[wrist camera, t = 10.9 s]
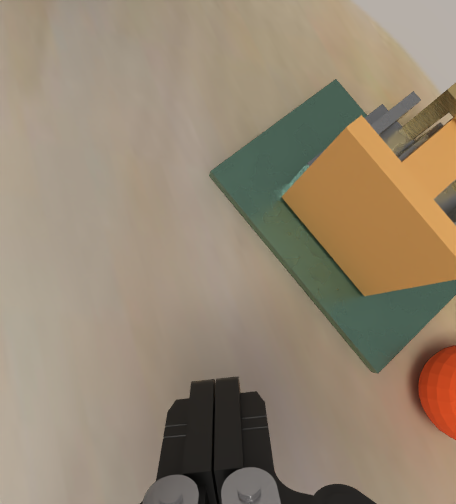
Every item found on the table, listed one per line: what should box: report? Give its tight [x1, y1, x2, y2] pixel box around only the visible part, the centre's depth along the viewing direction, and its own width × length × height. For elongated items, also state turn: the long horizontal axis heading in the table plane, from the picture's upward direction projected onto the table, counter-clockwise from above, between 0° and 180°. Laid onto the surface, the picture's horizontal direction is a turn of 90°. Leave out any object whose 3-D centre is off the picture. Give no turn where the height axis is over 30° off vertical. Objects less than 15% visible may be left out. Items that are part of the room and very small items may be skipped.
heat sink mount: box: [209, 79, 456, 373], centre depth 31 cm, size 20×14×11 cm
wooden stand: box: [282, 115, 456, 296], centre depth 29 cm, size 10×10×12 cm
